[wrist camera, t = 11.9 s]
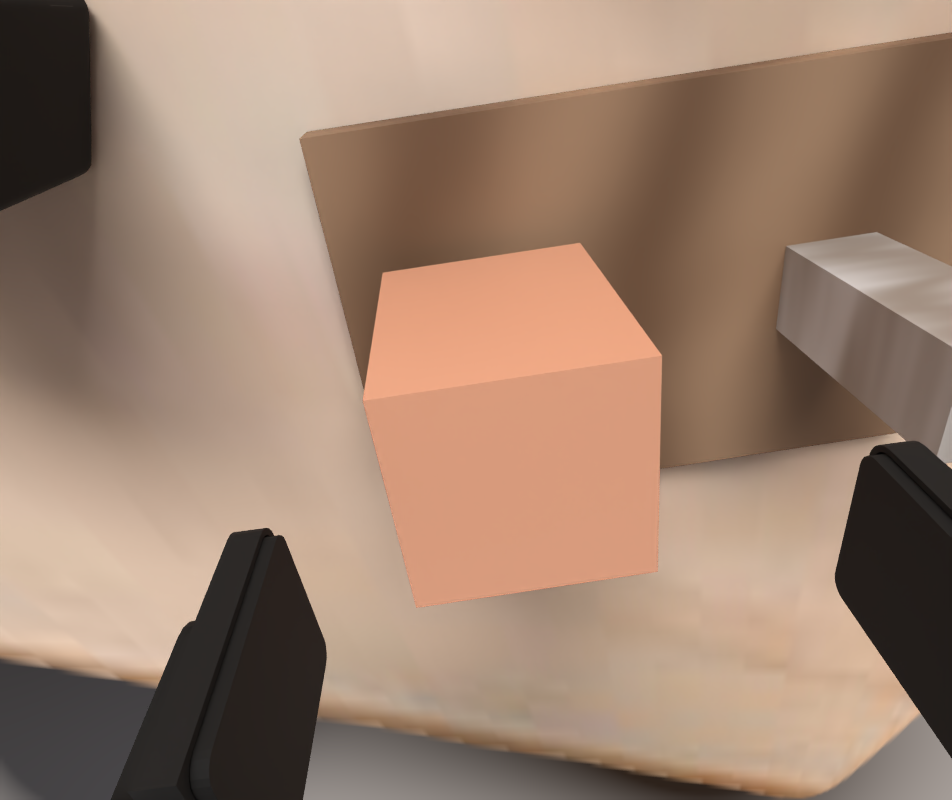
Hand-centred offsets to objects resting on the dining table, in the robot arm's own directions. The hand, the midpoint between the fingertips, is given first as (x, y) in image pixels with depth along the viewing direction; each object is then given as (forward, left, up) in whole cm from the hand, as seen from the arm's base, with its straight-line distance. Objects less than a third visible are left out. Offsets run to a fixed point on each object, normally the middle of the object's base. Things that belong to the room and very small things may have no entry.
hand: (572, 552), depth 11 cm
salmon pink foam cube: (+1, 0, -9) cm, 9 cm away
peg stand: (-4, 0, -11) cm, 12 cm away
